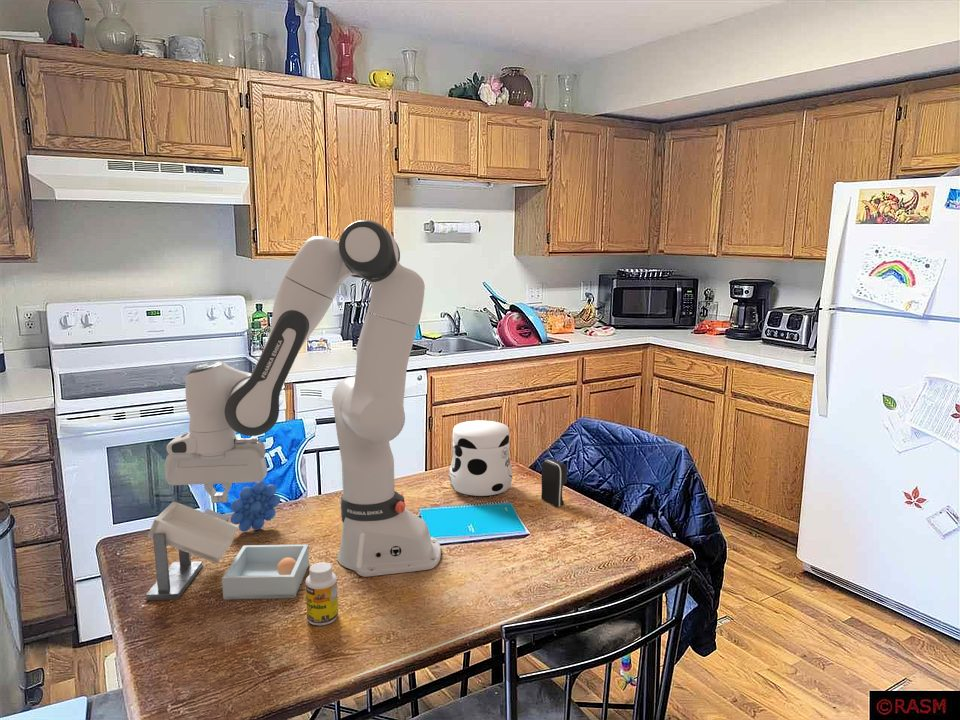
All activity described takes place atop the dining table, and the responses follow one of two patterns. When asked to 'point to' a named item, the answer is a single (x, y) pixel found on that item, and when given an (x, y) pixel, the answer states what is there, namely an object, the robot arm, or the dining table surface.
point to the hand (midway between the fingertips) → (220, 501)
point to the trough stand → (171, 572)
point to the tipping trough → (195, 531)
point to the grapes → (254, 506)
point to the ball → (286, 566)
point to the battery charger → (553, 481)
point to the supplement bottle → (321, 594)
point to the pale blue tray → (265, 572)
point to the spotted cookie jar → (480, 459)
